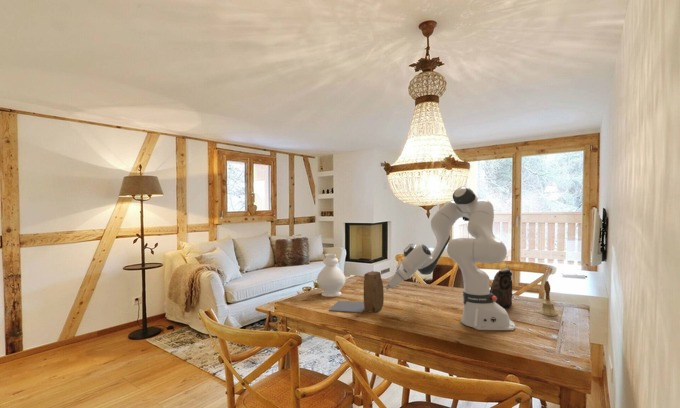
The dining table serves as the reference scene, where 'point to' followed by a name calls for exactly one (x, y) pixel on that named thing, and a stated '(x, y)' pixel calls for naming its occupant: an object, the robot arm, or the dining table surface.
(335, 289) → the decorative vase
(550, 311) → the hand bell
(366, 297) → the block
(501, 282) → the owl
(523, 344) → the dining table surface
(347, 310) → the mat
